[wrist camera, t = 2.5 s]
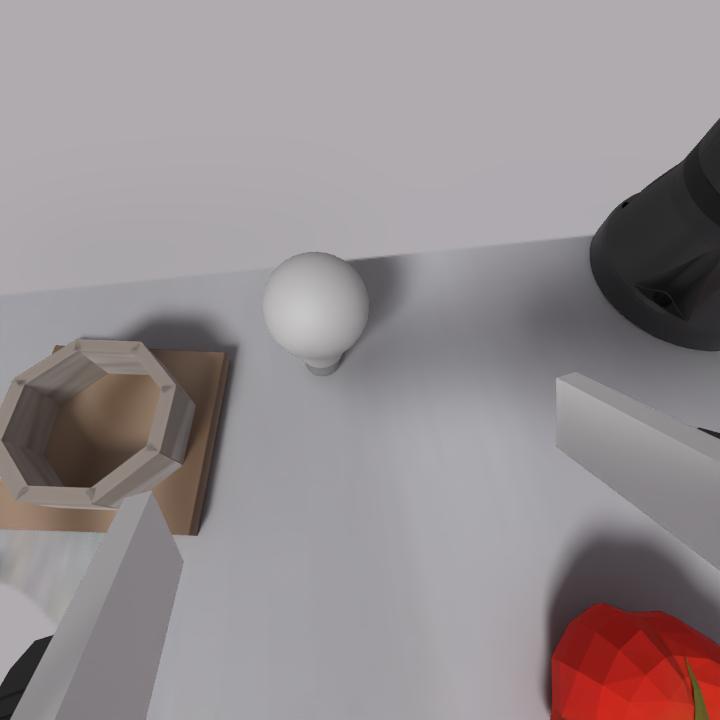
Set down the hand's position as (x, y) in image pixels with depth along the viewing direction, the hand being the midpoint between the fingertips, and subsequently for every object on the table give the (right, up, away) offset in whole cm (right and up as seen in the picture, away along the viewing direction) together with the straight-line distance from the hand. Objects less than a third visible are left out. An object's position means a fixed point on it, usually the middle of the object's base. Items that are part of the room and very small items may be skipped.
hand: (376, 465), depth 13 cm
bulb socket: (-16, -2, +15) cm, 22 cm away
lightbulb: (-3, +3, +18) cm, 18 cm away
